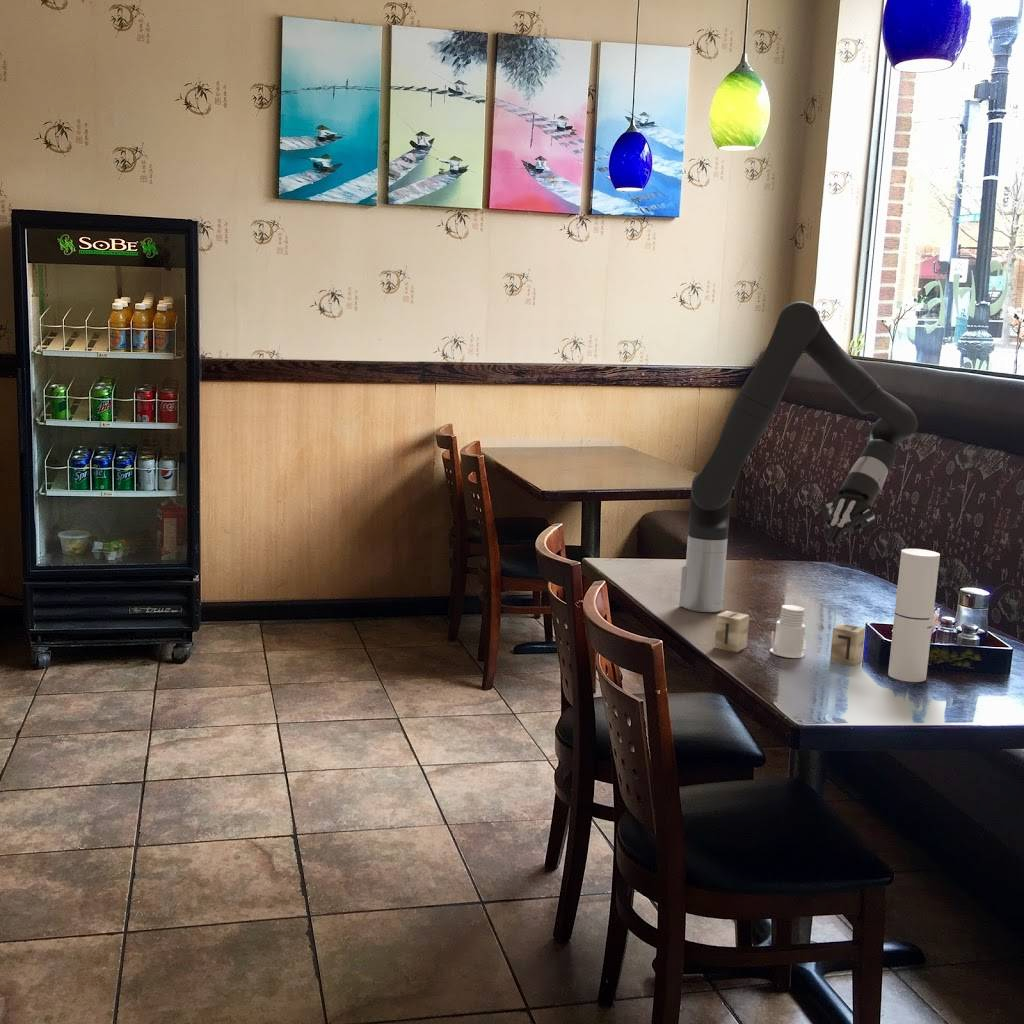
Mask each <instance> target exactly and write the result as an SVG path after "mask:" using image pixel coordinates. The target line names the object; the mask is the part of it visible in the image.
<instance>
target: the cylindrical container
mask: <svg viewBox="0 0 1024 1024" xmlns="http://www.w3.org/2000/svg"><path fill="white" fill-rule="evenodd" d="M940 556H941V554H940V553H939V552H938V551H937V552H936V551H935V550H934V551H933V550H929V549H922V548H904V549H903V548H902V549H901V552H900V559H899V561H900V562H899V568H898V569H899V570H898V580H897V588H896V599H895V605H894V606H895V607H894V615H893V616H894V618H893V626H892V632H891V633H892V635H891V636H892V637H891V643H890V644H891V645H890V654H889V655H890V656H889V663H888V671H887V672H888V673H887V675H888V676H889V677H890V678H892V679H895V680H898V681H902V682H908V683H909V682H910V683H920V682H924V681H926V679H927V676H928V675H927V673H928V666H929V655H930V647H931V638H932V628H933V620H934V612H935V601H936V593H937V586H938V585H937V584H938V576H939V568H940V567H939V566H940V559H941V557H940Z"/></svg>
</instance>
